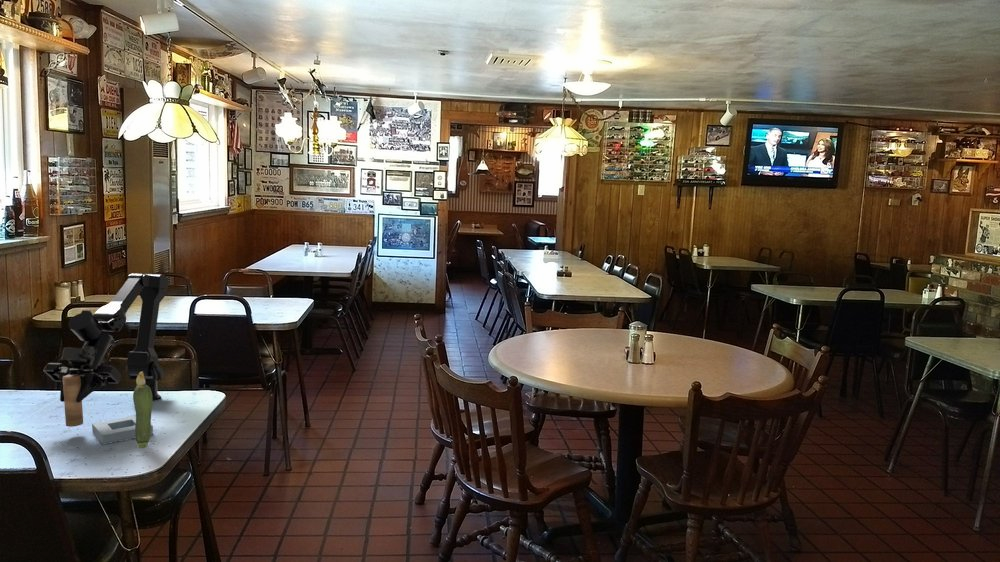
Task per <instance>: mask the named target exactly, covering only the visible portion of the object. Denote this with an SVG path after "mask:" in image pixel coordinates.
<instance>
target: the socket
mask: <svg viewBox="0 0 1000 562" xmlns="http://www.w3.org/2000/svg"><path fill="white" fill-rule="evenodd" d="M135 425H136V414H135V415H131V416H124V417H120V418H114V419H109V420H108V419H107V420H104V421H97V422H96V421H95V422H92V423H91V429H92V433H93V434H94V436H95V437H96V438H97V439H98V440H100V441H101V442H100V441H99V442H100V443H101V444H102V445H103V444H104V445H107V443H109V444H111V443H110V442H114V443H117V442H116V441H119V442H122V441H121V440H124V441H127V440H126V439H129V440H132V439H131V438H134V439H136V434H135ZM152 434H153V435H154V425H153V424H151V431H150V436H153V435H152Z"/></svg>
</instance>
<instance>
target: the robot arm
mask: <svg viewBox="0 0 1000 562" xmlns="http://www.w3.org/2000/svg"><path fill="white" fill-rule="evenodd" d="M169 287H170V279H169V278H168V277H167V276H166V274H163V273H161V274H160V273H131V274H128V276H127V277H126V281H125V282H124V284H123V285H122V287H120V289H119V290H118V292H117V293H116V294H115V296H114V297H113V299H112V300H111V301H110V302H109V303H107V304H106V305H103V306H101V307H100V308H98V309H97V310H96V311H95V312H94V313H92V311H91V310H90V309H82V310H81V312H80V313H77V314H76V315H74V316H73V317H72V318H70V319H69V321H68V322H67V323H68V329H70V331H72V332H73V334H75V335H76V336H77V337H78V339H79V340H80V341H82V342H84V344H83V346H82V347H63V348H62V349H63V350H62V354H61V358H60V360H61V361H66V362H68V365H69V366H71V367H72V368H70V367H68V366H65V364H64V363H62V362H61V363H60V362H48V363H46V365H45V367H44V369H43V370H42V371H43V372H44V373H45V374H46V376H48V377H49V378H50V379H51V380H52V381H54V382H58V383H60V390H59V391H60V393H59V395H60V396H59V397H60V398H59V401H60V402H61V403H64V392H63V376H66V375H73V374H78V375H80V377H84V378H83V379H84V381H83V383H82V384H81V389H80V391H79V394H78V396H77V399H76V401H77V402H78V403H79V402H81V401H82V402H83V400H84V399H85V398H88V396H89V395H90V394H92V393H93V392H94V391H96V390H98V389H99V388H101V387H104V386H106V382H107V383H108V384H115V385H116V384H117V385H118V384H119V383H120V381H121V380H122V373H121V372H120V371H119V370H118V369H117V367H115V366H114V364H101V363H105V362H106V360H107V359H106V358H105V357H104V356H105V354H106V353H107V351H108V348H109V347H110V346H115V344H116V341H115V339H114V337H113V335H110V333H108V332H111V333H112V332H113V333H115V332H116V333H117V332H118V333H119V332H120V331H121V330H122V329H123V327H124V325H125V323H126V322H127V312H128V310H129V309H130V308H131V306H132V305H133V304H134V302H135V300H136V299H137V298H138V296H139V297H140V299H141V308H140V316H139V325H138V328H137V329H138V332H137V338H136V344H135V345H136V346H135V348H134V349H133V350H132V351H128V353H127V359H126V363H125V366H126V367H125V370H126V373H127V375H128V379H129V381H136V379H137V377H138V375H139V373H140V372H142V371H143V373H144V374H143V375H144V379H145V385H147V386H149V387H150V389H151V391H152V398H153V400H159V399H162V396H161V395H160V394H159V393H158V381H161V380H163V378H164V377H165V369H164V368H163V367H162V366H161V365H160V364H159V355H158V354H157V352H156V350H155V343H156V342H155V341H156V334H157V333H156V332H157V326H158V319H159V318H158V317H159V309H160V304H161V302H162V300H163V299H164V298H165V297H166V296H167V293H168V288H169ZM105 380H106V382H105ZM137 386H138V384H137V383H136V387H137Z"/></svg>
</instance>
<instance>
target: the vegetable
mask: <svg viewBox="0 0 1000 562" xmlns="http://www.w3.org/2000/svg"><path fill="white" fill-rule="evenodd" d="M143 374H144V373H143V371H142V372H140V373H139V375H138V377H137V379H136V380H135V381H136V387H135V388H134V390H133V394H132V399H133V405H134V410H135V415H136V425H135V434H136V438H135V441H136V443H137V445H138V448H139V449H141V448H146V447H147V446H148V443H149V442H150V438H151V435H150V431H151V425H152V409H153V405H154V404H153V398H152V391H151V389H150V387H149V386H147V385H145V379H144V375H143ZM137 384H138V386H137Z"/></svg>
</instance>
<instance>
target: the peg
mask: <svg viewBox="0 0 1000 562" xmlns="http://www.w3.org/2000/svg"><path fill="white" fill-rule="evenodd" d="M81 382H82V381H81V376H80V375H78V374H73V375H66V376H63V392H64V402H63V404H64V405H63V406H64V415H65V416H64V419H65V426H66V427H70V428H71V427H72V428H73V427H78V426H82V425H84V411H83V410H84V409H83V400H82V401H81V402H79V403H78V402H77V401H76V399H77V396H78V394H79V391H80V389H81V387H82V383H81Z"/></svg>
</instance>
